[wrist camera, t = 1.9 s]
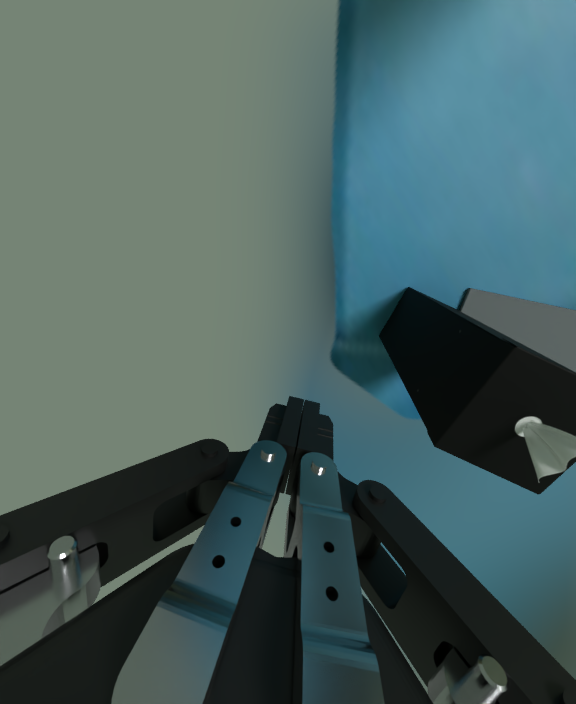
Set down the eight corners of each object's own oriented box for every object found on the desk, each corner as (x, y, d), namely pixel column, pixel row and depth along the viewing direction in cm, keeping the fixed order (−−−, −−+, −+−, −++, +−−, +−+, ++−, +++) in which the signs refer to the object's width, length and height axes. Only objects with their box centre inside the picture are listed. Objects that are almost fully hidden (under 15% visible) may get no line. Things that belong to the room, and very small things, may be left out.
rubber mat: (468, 287, 38) (470, 288, 38) (615, 318, 37) (619, 320, 36) (434, 369, 43) (435, 370, 42) (564, 399, 41) (567, 401, 41)
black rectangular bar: (377, 335, 42) (452, 485, 16) (407, 285, 39) (558, 369, 13) (426, 358, 42) (578, 543, 16) (459, 310, 39) (711, 441, 13)
